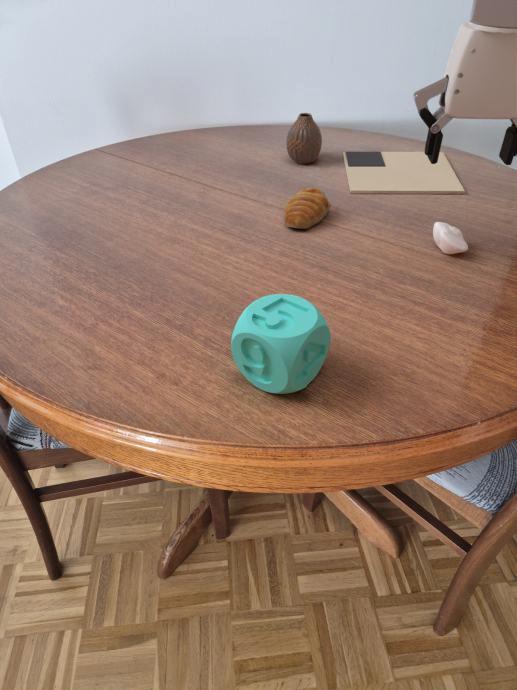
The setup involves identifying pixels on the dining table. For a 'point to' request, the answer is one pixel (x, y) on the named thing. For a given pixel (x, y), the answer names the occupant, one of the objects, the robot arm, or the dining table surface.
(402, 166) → the mat
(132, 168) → the dining table surface
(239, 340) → the decorative dice
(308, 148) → the vase
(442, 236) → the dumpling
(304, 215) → the pastry
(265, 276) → the dining table surface
